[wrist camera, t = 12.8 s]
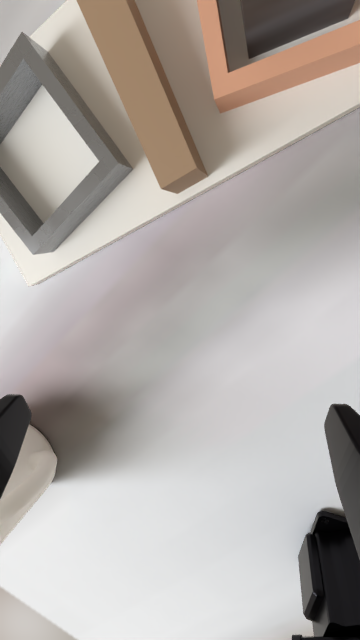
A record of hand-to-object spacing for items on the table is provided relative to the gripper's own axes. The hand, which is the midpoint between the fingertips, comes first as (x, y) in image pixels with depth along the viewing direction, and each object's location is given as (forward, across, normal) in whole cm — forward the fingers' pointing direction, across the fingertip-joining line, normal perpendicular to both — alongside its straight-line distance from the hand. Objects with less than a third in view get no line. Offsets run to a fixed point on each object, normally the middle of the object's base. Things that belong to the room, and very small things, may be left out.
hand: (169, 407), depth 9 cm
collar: (+15, +9, -5) cm, 18 cm away
